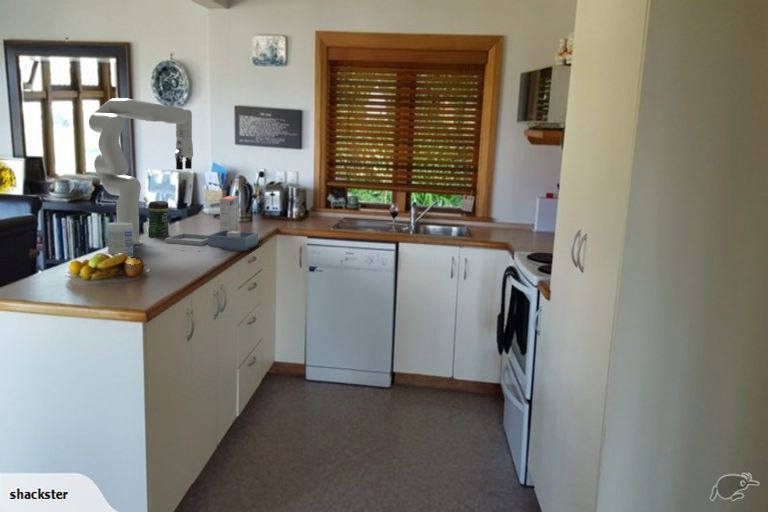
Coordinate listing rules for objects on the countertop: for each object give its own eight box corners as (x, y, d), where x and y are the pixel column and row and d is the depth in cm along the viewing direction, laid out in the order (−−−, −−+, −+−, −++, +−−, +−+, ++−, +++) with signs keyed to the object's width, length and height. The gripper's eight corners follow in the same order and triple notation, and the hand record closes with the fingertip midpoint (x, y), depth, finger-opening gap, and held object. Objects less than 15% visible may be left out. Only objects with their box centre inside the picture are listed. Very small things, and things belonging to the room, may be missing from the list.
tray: (201, 247, 286) (201, 241, 285) (165, 244, 288) (165, 238, 287) (216, 241, 303) (216, 235, 303) (182, 238, 305) (182, 232, 305)
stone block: (236, 245, 291) (236, 233, 290) (226, 244, 291) (226, 232, 290) (240, 244, 296) (240, 231, 295) (230, 243, 296) (230, 231, 295)
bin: (245, 251, 284) (245, 238, 283) (208, 247, 286) (208, 235, 285) (257, 244, 302) (258, 233, 300) (223, 241, 304) (223, 230, 303)
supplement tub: (131, 261, 249) (130, 225, 246) (106, 260, 247) (105, 224, 244) (134, 256, 258) (134, 222, 256) (110, 256, 256) (110, 221, 254)
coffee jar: (159, 240, 299) (158, 202, 295) (145, 238, 301) (145, 200, 297) (171, 237, 308) (171, 200, 304) (158, 235, 310) (158, 199, 307)
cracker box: (227, 234, 326) (227, 195, 322) (238, 235, 325) (239, 196, 321) (218, 238, 312) (219, 198, 308) (230, 239, 312) (231, 198, 308)
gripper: (183, 134, 295) (183, 170, 298) (198, 135, 312) (198, 168, 315) (168, 133, 296) (168, 169, 299) (184, 134, 313) (184, 167, 316)
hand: (184, 169), depth 307 cm, fingers open, 9 cm apart
